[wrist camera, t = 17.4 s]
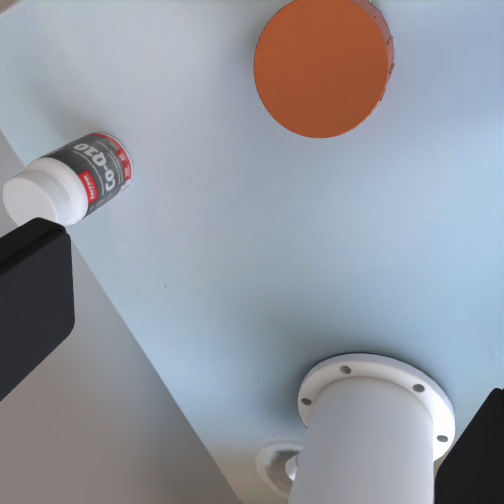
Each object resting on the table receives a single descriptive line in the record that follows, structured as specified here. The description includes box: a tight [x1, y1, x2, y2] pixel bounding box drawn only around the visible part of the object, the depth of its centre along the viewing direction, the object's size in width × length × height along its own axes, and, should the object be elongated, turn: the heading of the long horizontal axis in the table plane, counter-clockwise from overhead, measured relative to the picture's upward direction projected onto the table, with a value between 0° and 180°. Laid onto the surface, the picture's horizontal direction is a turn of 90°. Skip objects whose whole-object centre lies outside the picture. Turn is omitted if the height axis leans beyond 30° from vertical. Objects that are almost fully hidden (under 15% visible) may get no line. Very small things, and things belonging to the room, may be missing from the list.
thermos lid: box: [254, 0, 394, 138], centre depth 25 cm, size 7×7×3 cm
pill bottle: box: [2, 133, 134, 227], centre depth 32 cm, size 5×5×8 cm
